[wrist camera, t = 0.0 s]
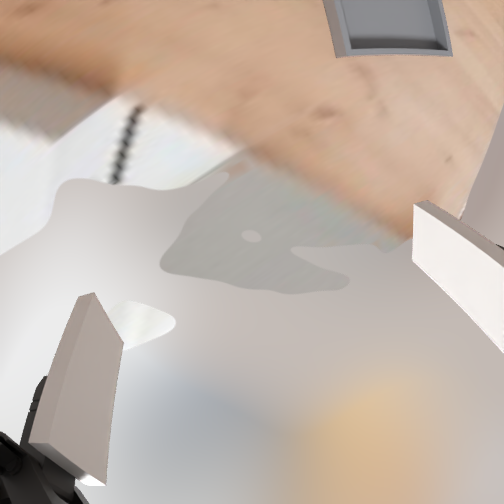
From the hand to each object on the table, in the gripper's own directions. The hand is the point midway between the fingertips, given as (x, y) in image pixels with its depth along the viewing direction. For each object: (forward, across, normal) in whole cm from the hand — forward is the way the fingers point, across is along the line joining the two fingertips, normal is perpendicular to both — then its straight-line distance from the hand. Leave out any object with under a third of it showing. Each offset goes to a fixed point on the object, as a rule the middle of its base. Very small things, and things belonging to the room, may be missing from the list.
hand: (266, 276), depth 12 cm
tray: (+28, +26, +17) cm, 42 cm away
